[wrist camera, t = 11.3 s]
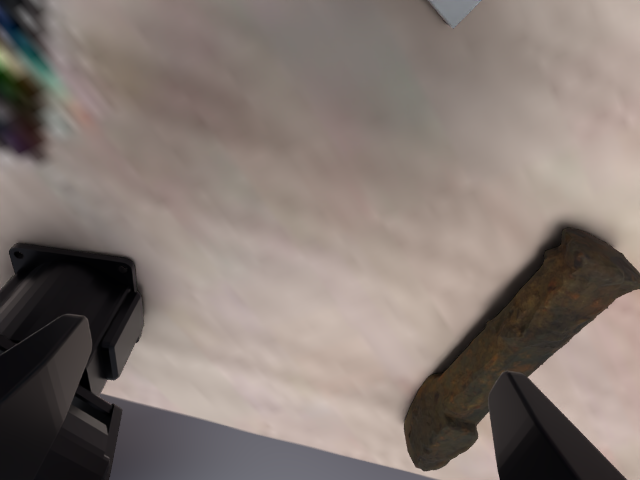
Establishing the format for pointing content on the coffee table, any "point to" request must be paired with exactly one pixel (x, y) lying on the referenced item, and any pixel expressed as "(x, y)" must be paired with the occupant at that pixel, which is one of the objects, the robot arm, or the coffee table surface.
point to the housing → (454, 9)
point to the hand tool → (516, 343)
